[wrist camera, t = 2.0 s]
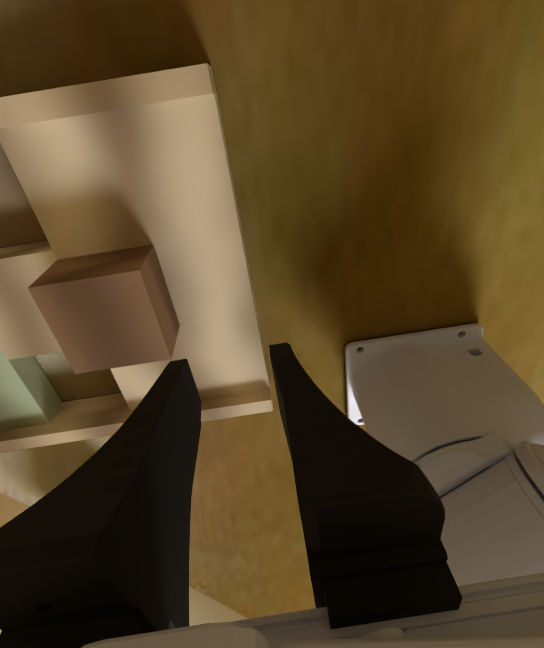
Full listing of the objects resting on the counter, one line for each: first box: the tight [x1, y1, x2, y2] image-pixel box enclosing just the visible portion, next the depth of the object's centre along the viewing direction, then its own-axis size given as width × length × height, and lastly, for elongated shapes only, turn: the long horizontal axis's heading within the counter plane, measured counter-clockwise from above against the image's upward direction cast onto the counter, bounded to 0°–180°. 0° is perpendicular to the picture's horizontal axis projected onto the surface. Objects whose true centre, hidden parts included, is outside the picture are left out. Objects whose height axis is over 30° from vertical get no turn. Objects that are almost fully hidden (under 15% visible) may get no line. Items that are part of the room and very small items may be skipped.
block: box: [28, 244, 180, 374], centre depth 19 cm, size 5×5×3 cm
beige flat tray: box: [0, 63, 273, 453], centre depth 20 cm, size 21×19×4 cm
